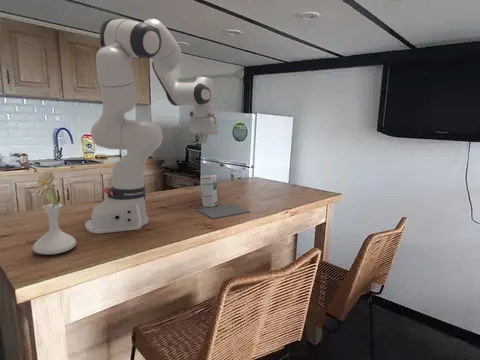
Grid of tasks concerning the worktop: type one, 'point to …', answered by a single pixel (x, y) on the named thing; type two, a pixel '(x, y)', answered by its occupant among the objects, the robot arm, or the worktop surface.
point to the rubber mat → (222, 211)
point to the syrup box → (209, 190)
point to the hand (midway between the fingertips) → (203, 143)
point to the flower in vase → (51, 221)
